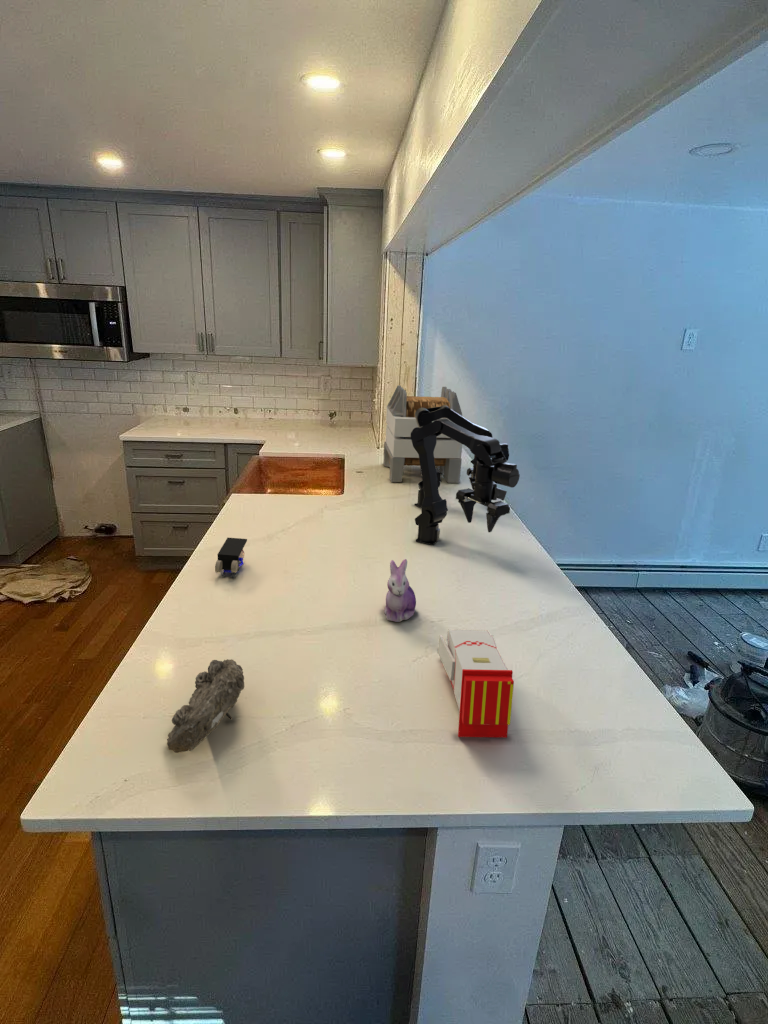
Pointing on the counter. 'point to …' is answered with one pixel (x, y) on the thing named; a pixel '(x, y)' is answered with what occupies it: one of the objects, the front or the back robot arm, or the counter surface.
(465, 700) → the toy
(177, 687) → the counter surface
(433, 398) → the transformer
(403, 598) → the figurine
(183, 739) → the fossil
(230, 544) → the black toy vehicle
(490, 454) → the front robot arm
